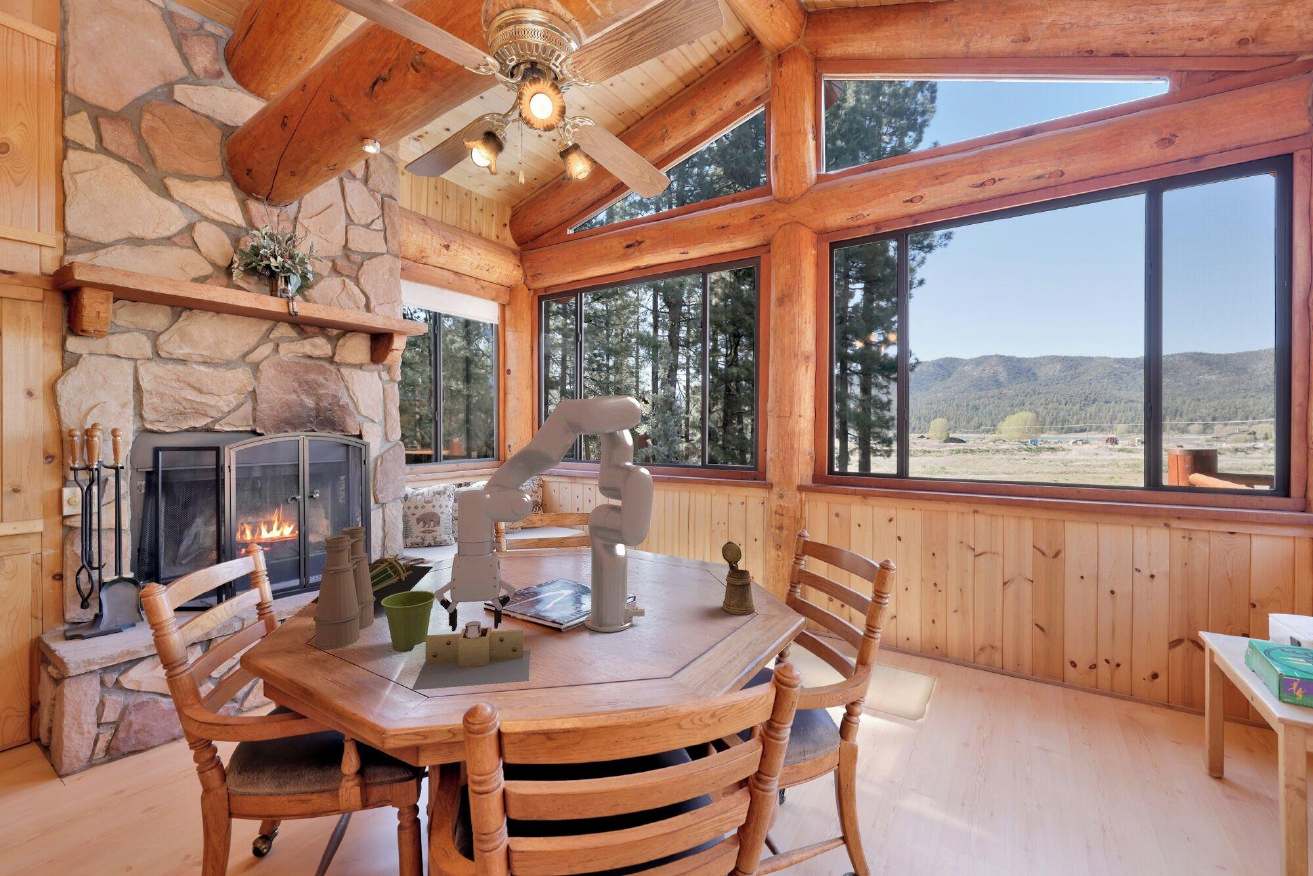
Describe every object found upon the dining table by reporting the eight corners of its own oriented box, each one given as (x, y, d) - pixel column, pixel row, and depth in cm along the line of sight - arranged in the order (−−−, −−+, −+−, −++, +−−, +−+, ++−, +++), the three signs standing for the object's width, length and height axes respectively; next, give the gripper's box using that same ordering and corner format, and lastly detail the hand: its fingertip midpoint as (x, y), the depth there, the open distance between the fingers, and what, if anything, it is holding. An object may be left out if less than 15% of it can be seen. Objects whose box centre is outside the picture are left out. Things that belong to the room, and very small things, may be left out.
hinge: (523, 651, 125) (523, 625, 125) (522, 663, 119) (523, 635, 119) (428, 657, 121) (428, 630, 121) (422, 670, 115) (422, 641, 115)
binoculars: (352, 648, 128) (352, 541, 127) (305, 650, 126) (305, 542, 126) (380, 617, 148) (380, 524, 148) (340, 618, 147) (340, 525, 146)
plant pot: (396, 635, 136) (396, 589, 136) (444, 636, 136) (444, 591, 136) (370, 655, 124) (370, 606, 124) (422, 657, 124) (422, 607, 124)
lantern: (312, 626, 152) (371, 569, 180) (395, 636, 151) (441, 577, 180) (308, 583, 148) (369, 531, 176) (393, 593, 147) (441, 540, 176)
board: (530, 655, 126) (530, 650, 126) (528, 686, 111) (528, 680, 111) (427, 662, 121) (427, 657, 121) (411, 696, 106) (411, 690, 106)
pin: (481, 655, 122) (480, 620, 121) (481, 662, 119) (481, 626, 118) (466, 657, 121) (465, 622, 120) (466, 664, 118) (465, 627, 117)
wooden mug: (742, 599, 168) (743, 540, 168) (759, 614, 155) (760, 550, 154) (714, 600, 166) (715, 541, 166) (728, 616, 153) (729, 551, 153)
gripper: (518, 542, 125) (517, 619, 125) (436, 545, 121) (436, 624, 122) (516, 550, 117) (516, 631, 118) (429, 553, 114) (429, 637, 114)
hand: (475, 627), depth 120 cm, fingers open, 8 cm apart
